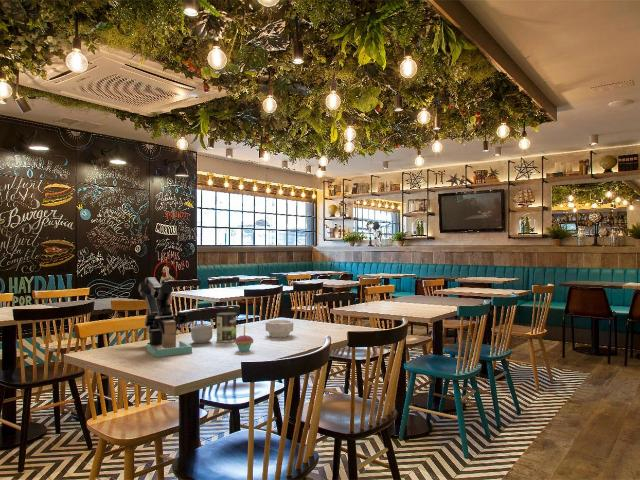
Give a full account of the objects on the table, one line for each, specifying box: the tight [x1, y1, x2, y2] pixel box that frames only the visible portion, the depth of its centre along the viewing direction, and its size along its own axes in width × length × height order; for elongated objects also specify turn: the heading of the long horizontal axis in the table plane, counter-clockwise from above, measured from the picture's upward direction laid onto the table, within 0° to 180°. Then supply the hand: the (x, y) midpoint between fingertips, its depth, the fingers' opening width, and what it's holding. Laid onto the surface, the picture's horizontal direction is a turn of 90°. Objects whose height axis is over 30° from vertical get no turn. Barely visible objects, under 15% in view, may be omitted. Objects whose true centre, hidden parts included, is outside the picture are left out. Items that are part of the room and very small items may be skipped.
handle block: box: [161, 320, 177, 349], centre depth 222 cm, size 5×5×12 cm
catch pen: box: [146, 340, 193, 358], centre depth 221 cm, size 16×16×3 cm
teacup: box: [190, 324, 213, 344], centre depth 245 cm, size 14×11×8 cm
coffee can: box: [216, 311, 238, 343], centre depth 248 cm, size 10×10×14 cm
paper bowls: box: [265, 319, 294, 338], centre depth 260 cm, size 15×15×8 cm
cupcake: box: [234, 324, 254, 353], centre depth 223 cm, size 9×8×12 cm
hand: (169, 333), depth 220 cm, fingers closed on handle block, 5 cm apart
